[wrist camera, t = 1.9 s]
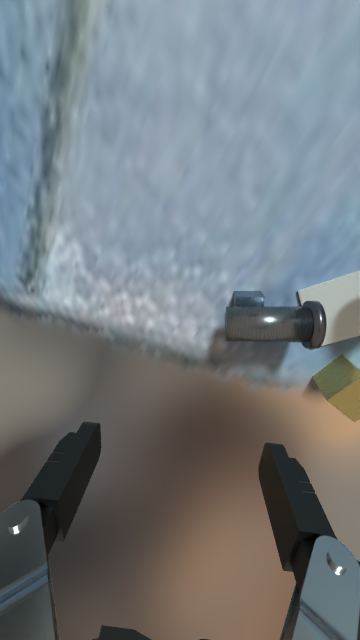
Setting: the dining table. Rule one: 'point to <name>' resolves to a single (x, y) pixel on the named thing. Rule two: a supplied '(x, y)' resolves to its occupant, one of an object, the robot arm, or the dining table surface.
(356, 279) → the plate
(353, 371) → the block
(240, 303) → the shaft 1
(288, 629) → the robot arm
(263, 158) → the dining table surface
